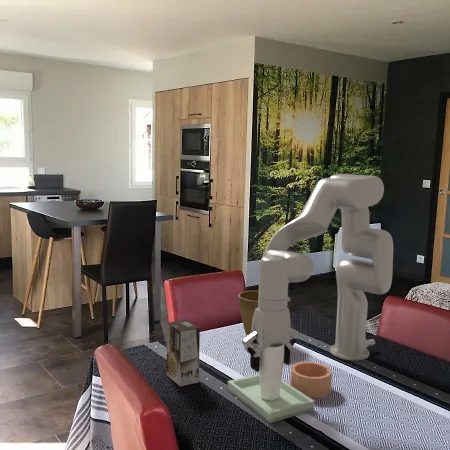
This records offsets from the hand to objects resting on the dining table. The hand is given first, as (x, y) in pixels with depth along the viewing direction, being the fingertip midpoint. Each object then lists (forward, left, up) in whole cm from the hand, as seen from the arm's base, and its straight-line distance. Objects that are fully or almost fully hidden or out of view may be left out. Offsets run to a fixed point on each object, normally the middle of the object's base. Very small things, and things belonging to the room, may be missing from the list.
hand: (270, 366), depth 136 cm
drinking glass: (0, 0, -9) cm, 9 cm away
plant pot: (-22, -38, -10) cm, 45 cm away
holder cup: (-14, 0, -9) cm, 17 cm away
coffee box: (+15, -22, -10) cm, 28 cm away
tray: (0, 0, -9) cm, 9 cm away
